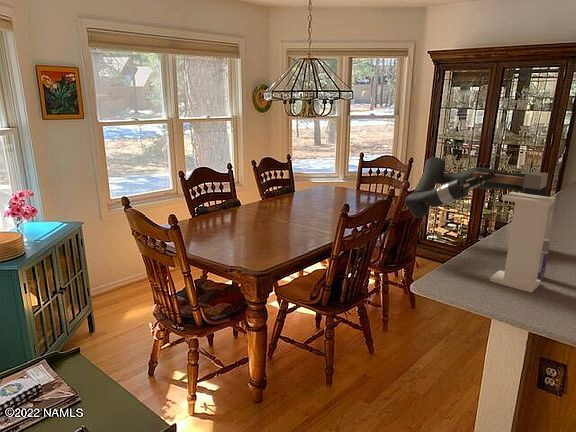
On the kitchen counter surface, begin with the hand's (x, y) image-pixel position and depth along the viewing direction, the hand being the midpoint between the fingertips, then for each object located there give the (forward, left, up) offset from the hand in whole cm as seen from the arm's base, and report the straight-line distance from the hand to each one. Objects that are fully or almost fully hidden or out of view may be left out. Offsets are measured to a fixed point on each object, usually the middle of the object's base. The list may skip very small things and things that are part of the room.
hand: (495, 173), depth 153 cm
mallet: (-2, +4, -3) cm, 5 cm away
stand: (-6, +10, -39) cm, 40 cm away
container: (-18, +8, -39) cm, 43 cm away
